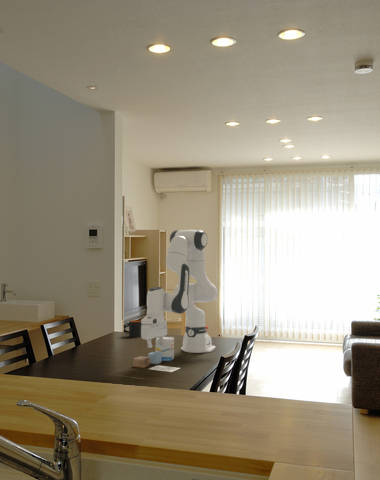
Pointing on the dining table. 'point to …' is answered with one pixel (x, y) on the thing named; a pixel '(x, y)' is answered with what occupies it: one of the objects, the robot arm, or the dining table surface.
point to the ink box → (166, 348)
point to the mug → (134, 328)
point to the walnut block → (141, 362)
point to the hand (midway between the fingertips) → (154, 346)
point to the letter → (164, 368)
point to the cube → (155, 357)
